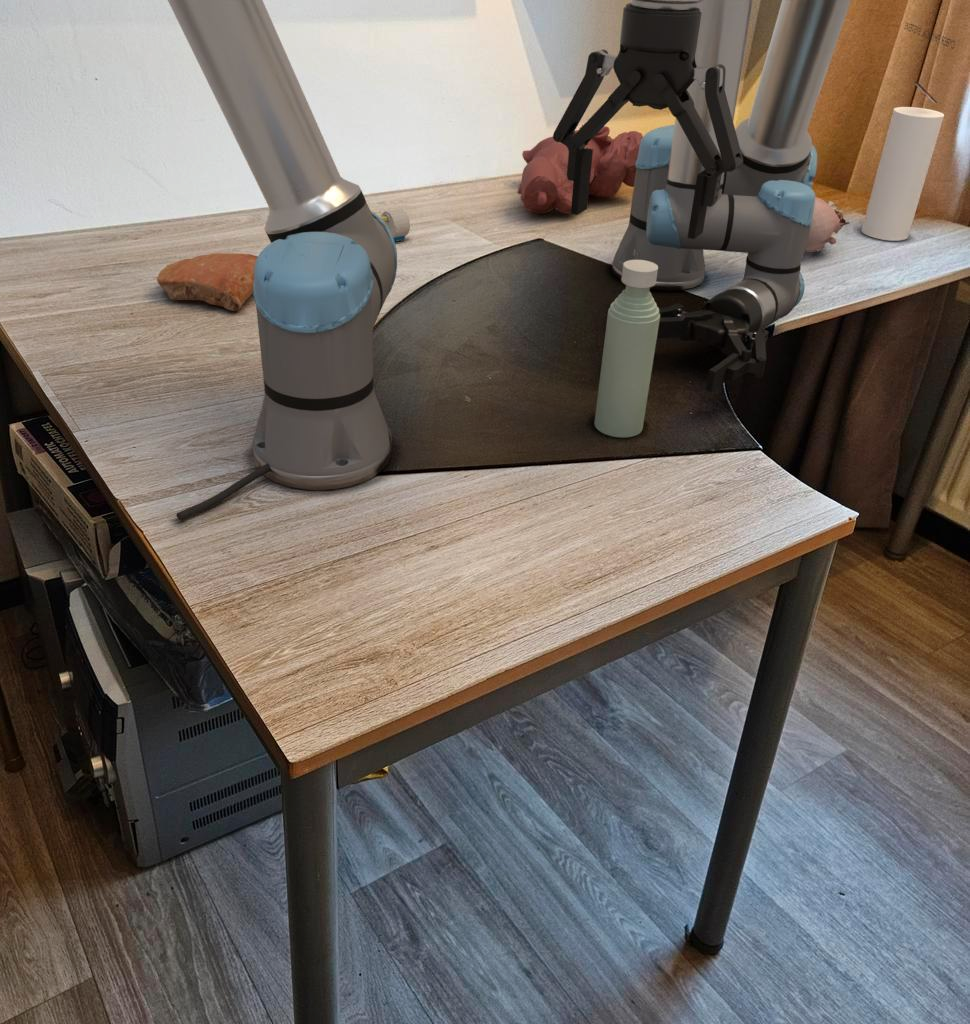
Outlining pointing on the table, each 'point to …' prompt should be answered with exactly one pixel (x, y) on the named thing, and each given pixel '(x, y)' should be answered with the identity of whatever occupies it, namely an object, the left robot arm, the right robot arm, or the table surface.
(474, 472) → the table surface
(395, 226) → the electric motor
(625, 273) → the cap
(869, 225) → the tall white cylinder
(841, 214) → the toy
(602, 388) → the bottle
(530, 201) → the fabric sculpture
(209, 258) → the ceramic shard
